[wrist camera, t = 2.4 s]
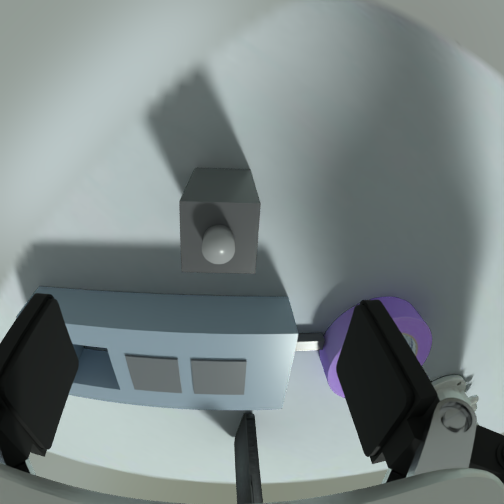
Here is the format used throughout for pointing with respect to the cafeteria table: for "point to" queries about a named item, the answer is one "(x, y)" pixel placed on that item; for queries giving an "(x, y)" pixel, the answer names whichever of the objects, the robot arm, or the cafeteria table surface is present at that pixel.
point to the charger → (219, 221)
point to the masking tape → (403, 317)
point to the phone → (247, 462)
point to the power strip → (182, 348)
